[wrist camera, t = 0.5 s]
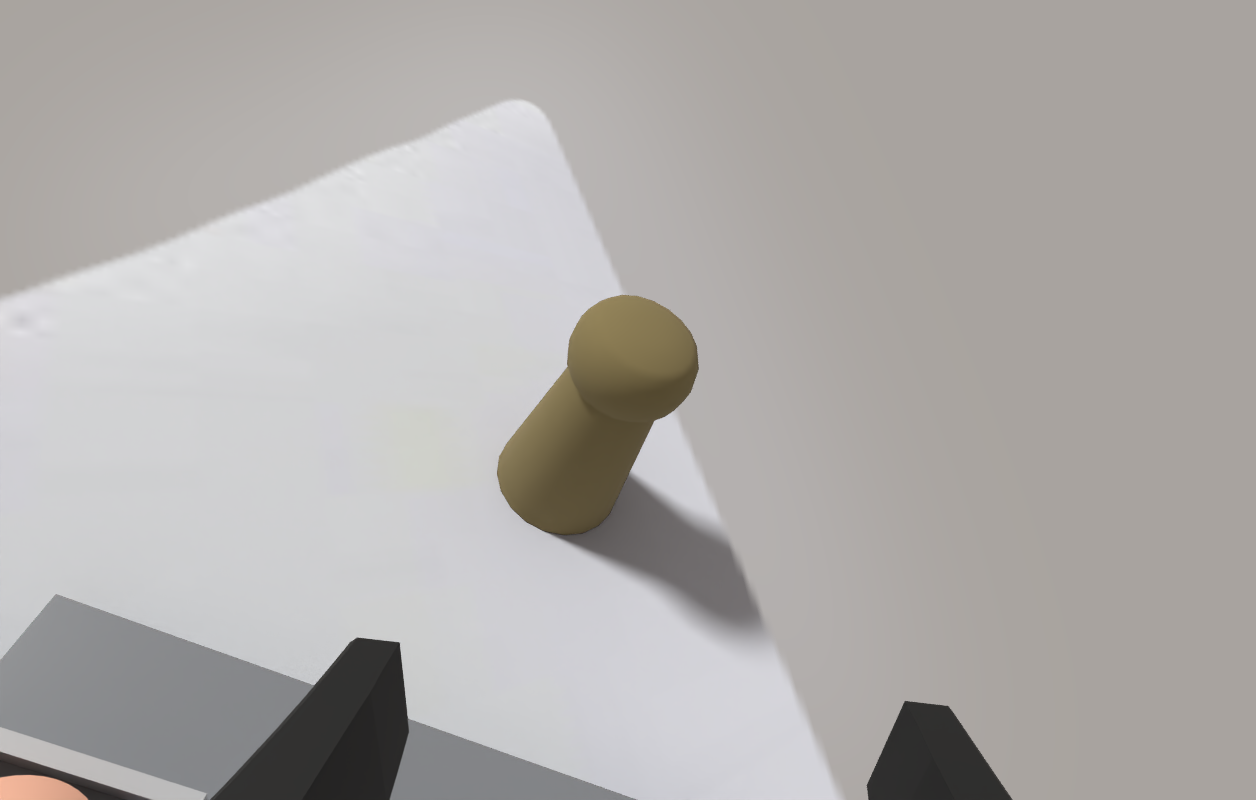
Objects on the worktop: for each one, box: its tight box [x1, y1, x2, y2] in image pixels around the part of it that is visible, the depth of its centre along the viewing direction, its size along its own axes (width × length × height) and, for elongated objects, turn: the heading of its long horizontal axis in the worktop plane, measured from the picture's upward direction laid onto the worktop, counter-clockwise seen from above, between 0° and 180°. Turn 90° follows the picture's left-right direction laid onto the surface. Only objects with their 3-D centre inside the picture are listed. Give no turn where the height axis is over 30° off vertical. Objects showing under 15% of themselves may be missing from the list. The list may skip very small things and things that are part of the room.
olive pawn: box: [497, 295, 699, 535], centre depth 31 cm, size 6×6×11 cm
